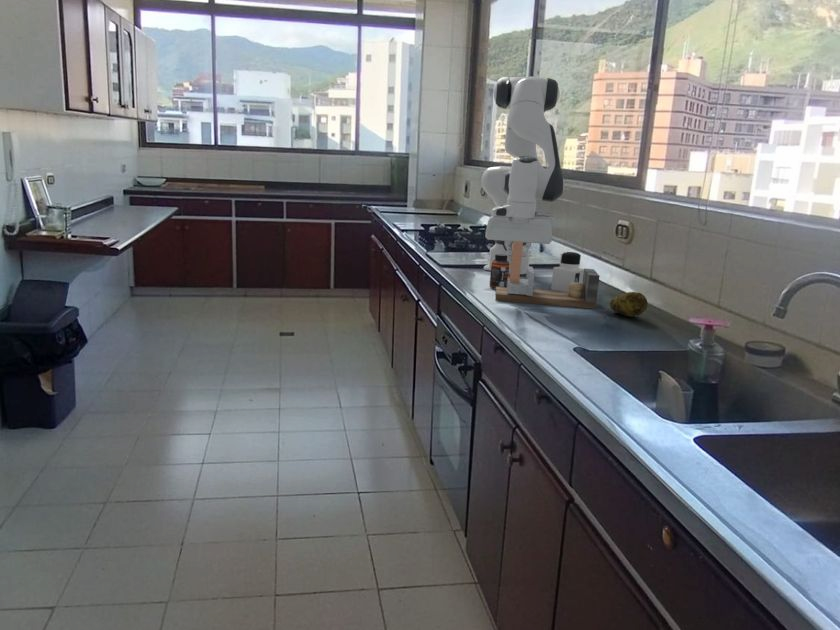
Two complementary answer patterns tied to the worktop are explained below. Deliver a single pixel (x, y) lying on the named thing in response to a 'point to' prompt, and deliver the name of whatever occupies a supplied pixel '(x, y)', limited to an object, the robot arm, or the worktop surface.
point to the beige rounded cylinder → (576, 290)
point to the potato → (629, 304)
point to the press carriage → (514, 281)
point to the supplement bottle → (499, 271)
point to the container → (567, 272)
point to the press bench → (557, 294)
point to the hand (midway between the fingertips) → (516, 256)
